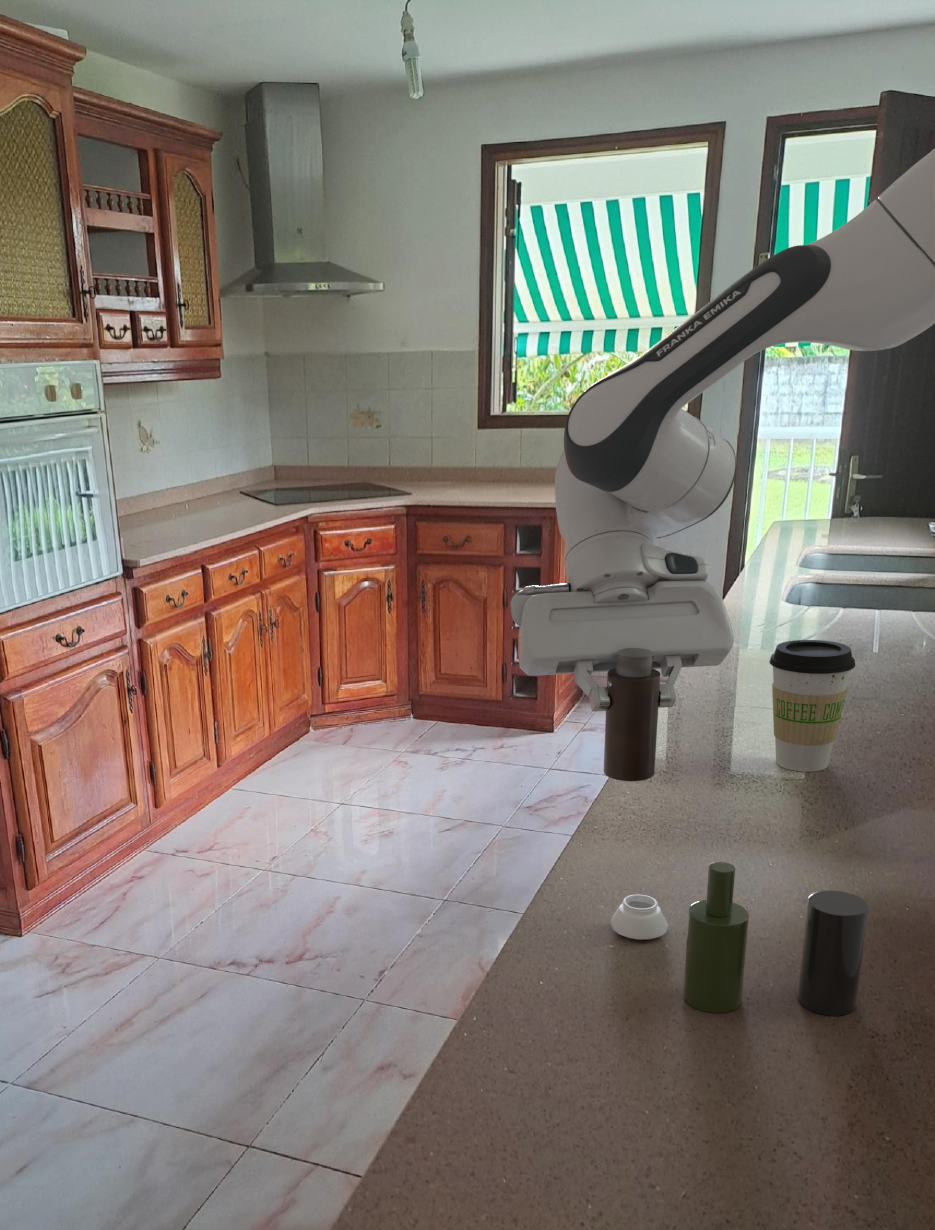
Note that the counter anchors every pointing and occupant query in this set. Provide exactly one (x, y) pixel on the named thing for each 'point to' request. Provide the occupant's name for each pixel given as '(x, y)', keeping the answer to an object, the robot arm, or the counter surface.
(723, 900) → the oil cruet
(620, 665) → the pepper mill
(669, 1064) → the counter surface
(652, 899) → the white jar
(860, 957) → the dark grey cylinder
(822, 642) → the coffee cup
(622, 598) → the robot arm
